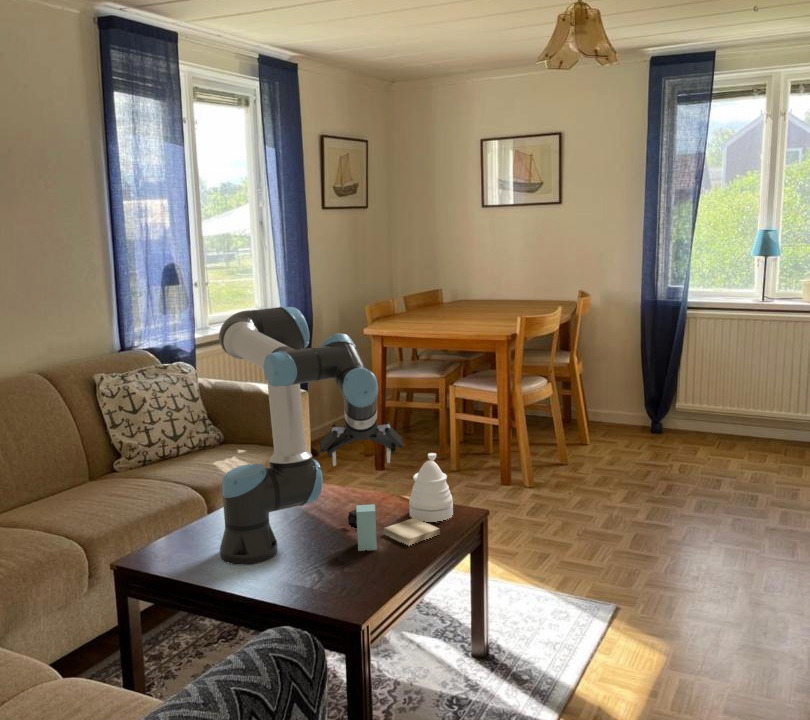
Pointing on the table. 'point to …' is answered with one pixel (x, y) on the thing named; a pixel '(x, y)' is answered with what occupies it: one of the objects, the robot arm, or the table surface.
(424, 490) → the honey pot
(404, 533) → the base slab
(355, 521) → the black boxy piece
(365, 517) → the pillar block
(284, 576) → the table surface
